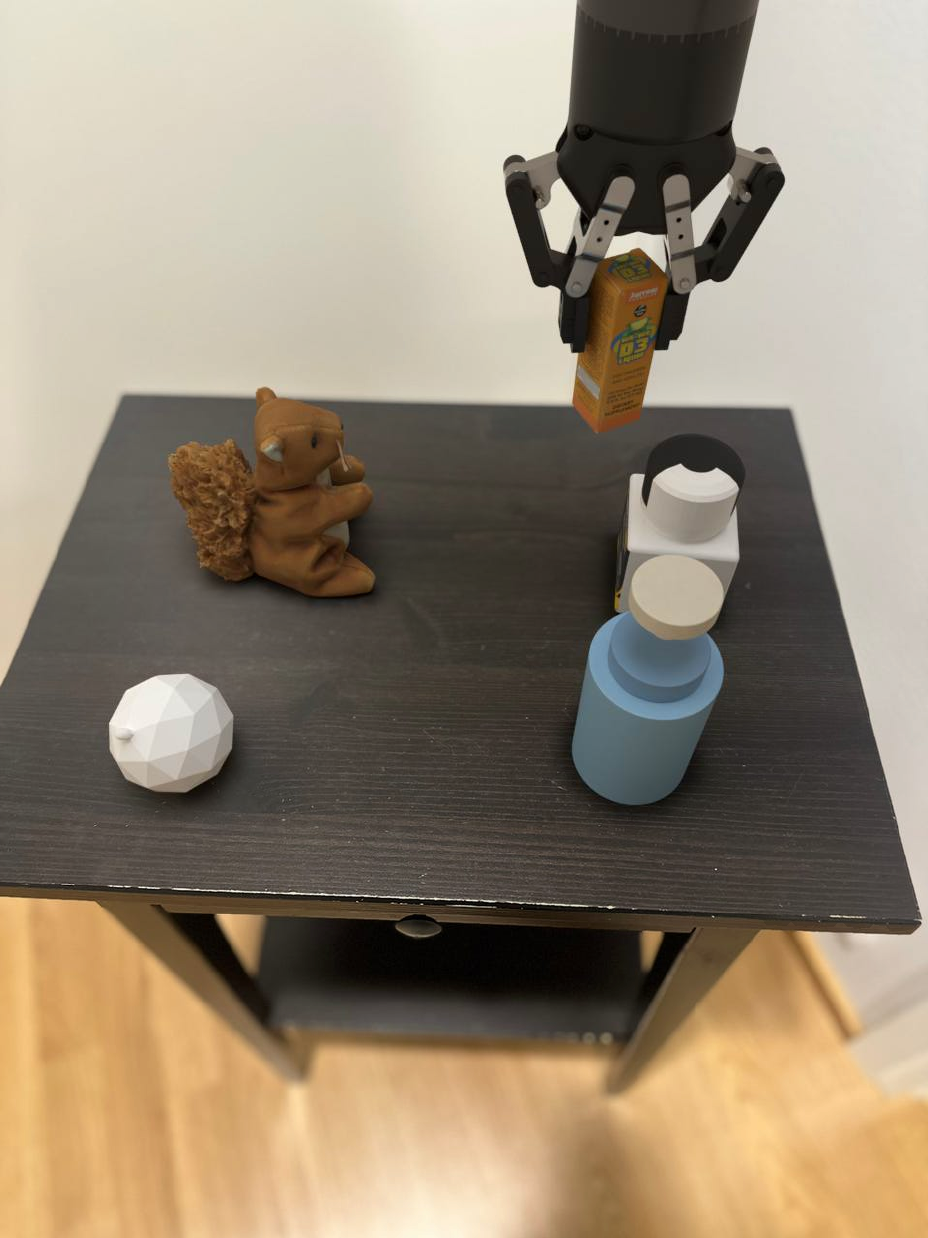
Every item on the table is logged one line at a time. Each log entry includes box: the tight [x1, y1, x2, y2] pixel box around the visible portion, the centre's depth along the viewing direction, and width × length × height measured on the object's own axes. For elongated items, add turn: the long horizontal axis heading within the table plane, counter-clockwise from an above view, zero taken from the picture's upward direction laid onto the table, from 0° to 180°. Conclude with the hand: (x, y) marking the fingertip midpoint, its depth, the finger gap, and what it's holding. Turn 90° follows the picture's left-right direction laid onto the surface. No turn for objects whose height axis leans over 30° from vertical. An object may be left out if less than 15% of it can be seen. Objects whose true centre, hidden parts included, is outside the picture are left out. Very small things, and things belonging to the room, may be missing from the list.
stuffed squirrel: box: [167, 386, 376, 598], centre depth 60 cm, size 10×14×13 cm
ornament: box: [108, 673, 234, 793], centre depth 52 cm, size 7×7×8 cm
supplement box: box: [571, 247, 669, 435], centre depth 50 cm, size 3×3×10 cm
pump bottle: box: [571, 611, 725, 806], centre depth 50 cm, size 7×7×12 cm
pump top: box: [628, 555, 725, 640], centre depth 43 cm, size 4×4×3 cm
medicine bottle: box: [614, 433, 746, 614], centre depth 58 cm, size 7×7×12 cm
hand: (617, 342), depth 50 cm, fingers closed on supplement box, 4 cm apart
